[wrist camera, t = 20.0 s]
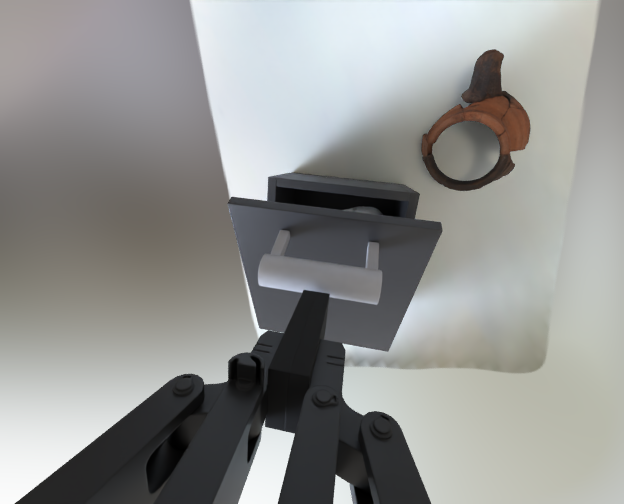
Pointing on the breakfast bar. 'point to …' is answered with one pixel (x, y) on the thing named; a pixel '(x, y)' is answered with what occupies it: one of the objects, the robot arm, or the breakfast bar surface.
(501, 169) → the broken terracotta ring
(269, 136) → the breakfast bar surface
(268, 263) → the lid
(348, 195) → the open cubby box
